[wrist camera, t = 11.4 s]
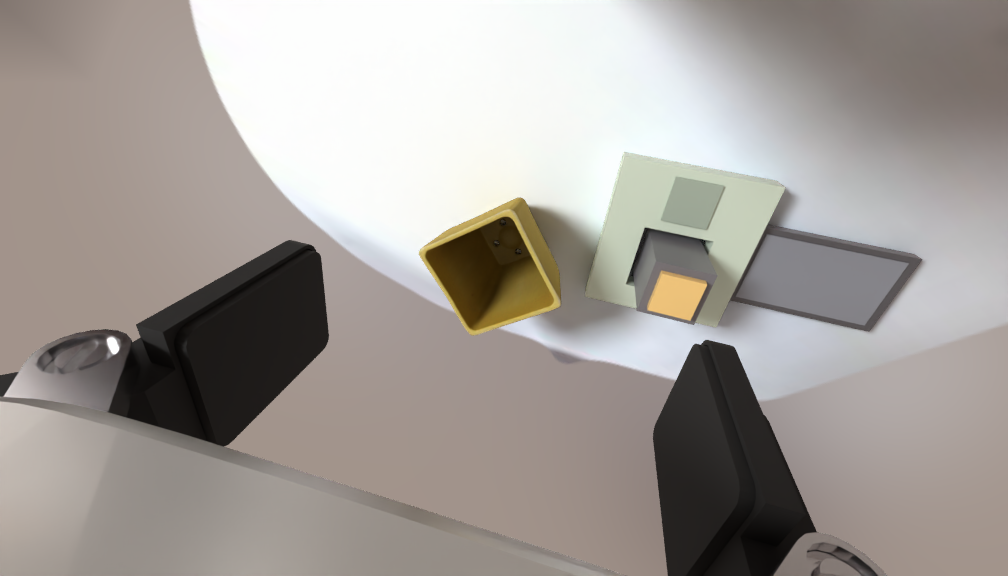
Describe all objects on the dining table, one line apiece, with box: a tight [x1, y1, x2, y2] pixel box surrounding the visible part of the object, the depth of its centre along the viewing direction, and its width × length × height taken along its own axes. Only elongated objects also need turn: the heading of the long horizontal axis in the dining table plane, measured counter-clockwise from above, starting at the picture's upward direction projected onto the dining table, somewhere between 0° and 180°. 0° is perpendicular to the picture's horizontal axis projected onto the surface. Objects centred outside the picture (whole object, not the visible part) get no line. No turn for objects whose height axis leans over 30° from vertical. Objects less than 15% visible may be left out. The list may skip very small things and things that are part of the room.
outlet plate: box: [585, 152, 786, 327], centre depth 35 cm, size 13×12×2 cm
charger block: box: [633, 228, 718, 325], centre depth 34 cm, size 4×4×8 cm
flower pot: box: [419, 198, 561, 336], centre depth 36 cm, size 9×9×9 cm
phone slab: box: [730, 225, 922, 331], centre depth 35 cm, size 7×12×1 cm, turn 82°
